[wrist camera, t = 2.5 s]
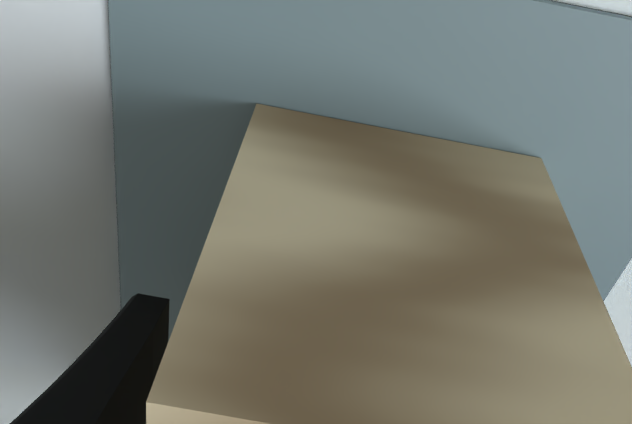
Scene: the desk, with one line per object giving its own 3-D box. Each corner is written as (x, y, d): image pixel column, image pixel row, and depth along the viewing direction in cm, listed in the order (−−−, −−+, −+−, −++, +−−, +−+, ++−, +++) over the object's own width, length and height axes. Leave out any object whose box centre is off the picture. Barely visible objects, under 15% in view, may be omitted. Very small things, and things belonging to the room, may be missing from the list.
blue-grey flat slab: (762, 43, 9) (768, 48, 9) (468, 500, 17) (469, 508, 17) (109, -89, 9) (103, -86, 9) (128, 442, 17) (126, 449, 17)
